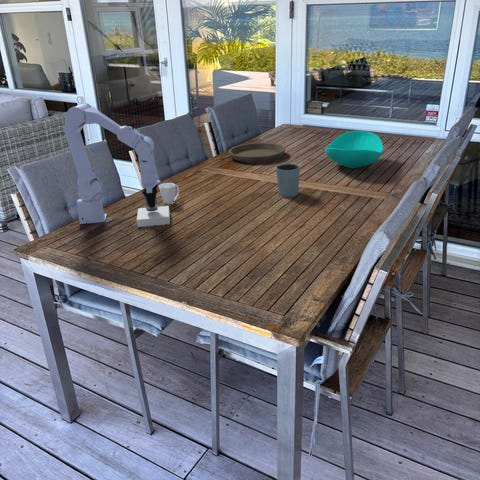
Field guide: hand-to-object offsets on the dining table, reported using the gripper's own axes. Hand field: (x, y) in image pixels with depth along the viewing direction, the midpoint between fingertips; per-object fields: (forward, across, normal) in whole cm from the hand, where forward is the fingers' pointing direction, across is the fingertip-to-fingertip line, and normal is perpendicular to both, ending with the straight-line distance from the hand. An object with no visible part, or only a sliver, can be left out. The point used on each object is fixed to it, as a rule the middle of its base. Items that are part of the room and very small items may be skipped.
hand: (152, 204), depth 183 cm
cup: (+6, +18, -7) cm, 20 cm away
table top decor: (+6, +47, -98) cm, 109 cm away
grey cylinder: (+2, 0, 0) cm, 2 cm away
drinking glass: (+6, +16, -57) cm, 60 cm away
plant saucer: (+7, +79, -55) cm, 96 cm away
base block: (+6, 0, 0) cm, 6 cm away
